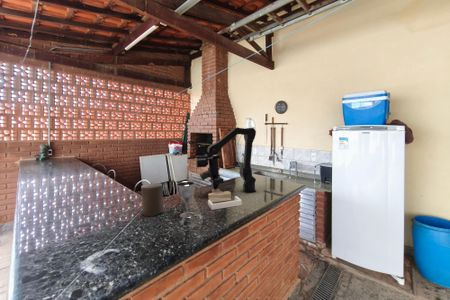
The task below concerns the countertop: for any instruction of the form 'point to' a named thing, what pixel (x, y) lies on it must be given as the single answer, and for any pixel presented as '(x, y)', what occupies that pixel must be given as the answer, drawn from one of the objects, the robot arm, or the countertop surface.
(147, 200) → the pillar candle
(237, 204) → the bracket
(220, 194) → the t block
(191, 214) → the wine glass
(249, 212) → the countertop surface
